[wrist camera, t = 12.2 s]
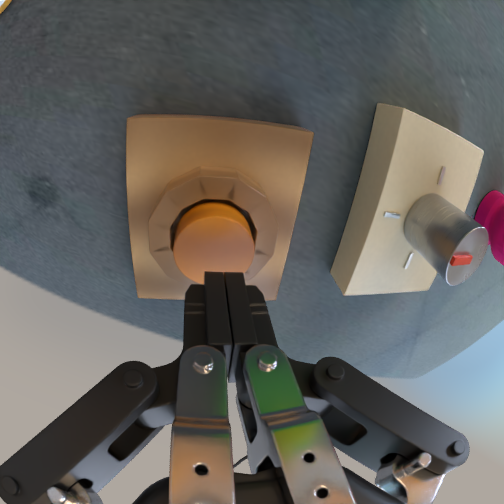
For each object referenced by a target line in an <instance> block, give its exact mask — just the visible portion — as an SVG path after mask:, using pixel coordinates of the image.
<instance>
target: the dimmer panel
mask: <svg viewBox="0 0 504 504" xmlns="http://www.w3.org/2000/svg"><path fill="white" fill-rule="evenodd" d="M483 154H484V151H483V150H482V149H480V148H479V147H477V146H475V145H474V144H472V143H471V142H469V141H467V140H466V139H464V138H462V137H460V136H459V135H457V134H455V133H453V132H452V131H450V130H448V129H446V128H444V127H442V126H440V125H438V124H437V123H435V122H433V121H431V120H429V119H426V118H424V117H422V116H420V115H418V114H416V113H414V112H411V111H409V110H407V109H405V108H401V107H396V106H392V105H387V104H382V103H377V107H376V112H375V117H374V121H373V126H372V130H371V135H370V139H369V143H368V148H367V152H366V156H365V160H364V164H363V167H362V171H361V175H360V179H359V182H358V186H357V189H356V193H355V196H354V200H353V203H352V207H351V210H350V213H349V217H348V220H347V223H346V226H345V229H344V233H343V236H342V239H341V242H340V245H339V248H338V251H337V254H336V257H335V260H334V262H333V265H332V268H331V271H330V273H331V275H332V277H333V278H334V280H335V282H336V283H337V285H338V287H339V288H340V290H341V292H342V294H343V295H344V296H349V295H369V294H386V293H400V292H414V291H426V290H428V289H429V287H430V286H431V284H432V282H433V280H434V278H435V276H436V274H437V273H438V272H437V271H436V270H435V269H434V268H433V267H432V266H431V265H430V264H429V263H428V262H427V261H426V260H425V259H424V258H423V257H422V256H421V255H420V254H419V253H418V252H417V251H416V250H415V249H414V248H413V247H412V246H411V245H410V244H409V243H408V242H407V240H406V238H405V234H404V225H405V220H406V217H407V215H408V213H409V211H410V209H411V207H412V206H413V205H414V203H415V202H416V201H417V200H418V199H420V198H421V197H422V196H424V195H426V194H430V193H435V194H438V195H440V196H441V197H443V198H444V199H446V200H447V201H449V202H450V203H452V204H453V205H454V206H456V207H457V208H459V209H460V210H462V211H463V212H464V213H465V210H466V207H467V205H468V202H469V199H470V196H471V194H472V191H473V188H474V185H475V181H476V178H477V175H478V172H479V168H480V165H481V161H482V157H483Z"/></svg>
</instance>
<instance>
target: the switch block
mask: <svg viewBox="0 0 504 504" xmlns="http://www.w3.org/2000/svg"><path fill="white" fill-rule="evenodd" d="M313 136H314V133H313V132H311V131H309V130H307V129H304V128H302V127H298V126H292V125H286V124H279V123H273V122H266V121H258V120H250V119H241V118H231V117H219V116H204V115H181V114H138V115H135V116H132V117H129V118H127V131H126V182H127V205H128V220H129V232H130V242H131V252H132V260H133V268H134V276H135V283H136V289H137V295H138V298H151V299H176V300H185V292H186V291H187V289H188V288H189V286H190V285H191V284H200V283H197V282H194V281H192V280H190V279H189V278H187V277H186V276H185V275H184V274H183V273H182V272H181V271H180V270H179V269H178V267H177V265H176V263H175V261H174V257H173V246H174V240H175V234H176V229H177V225H178V223H179V221H180V219H181V218H182V217H183V215H184V214H185V213H186V212H187V211H189V210H190V209H191V208H193V207H195V206H197V205H200V204H203V203H208V202H219V203H224V204H228V205H230V206H232V207H234V208H236V209H237V210H238V211H240V212H241V213H242V214H243V216H244V217H245V218H246V220H247V222H248V225H249V228H250V231H251V234H252V237H253V240H254V245H255V255H254V259H253V261H252V264H251V265H250V267H249V268H248V270H247V271H246V272H245V273H244V274H243V275H244V279H245V284H246V285H256V286H257V287H258V289H259V290H260V291H261V292H262V293H263V295H264V298H265V301H266V300H276V297H277V293H278V289H279V286H280V282H281V278H282V274H283V270H284V266H285V262H286V258H287V254H288V249H289V245H290V241H291V237H292V233H293V228H294V224H295V220H296V216H297V211H298V207H299V202H300V198H301V193H302V189H303V184H304V180H305V175H306V170H307V166H308V161H309V156H310V151H311V146H312V141H313Z"/></svg>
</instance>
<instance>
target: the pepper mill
mask: <svg viewBox="0 0 504 504" xmlns="http://www.w3.org/2000/svg"><path fill="white" fill-rule="evenodd" d="M474 220H475V221H476V222H478V223H479V224H480V225H482V226H483V227H484V228H485V229H486V230H487V232H488V237H489V240H488V245H489V244H490V245H491V251H492V254H493V256H494V258H495V259H496V260H497V261H498V262H500V263H501V264H502V265H504V195H503V194H502V193H500V192H498V191H496V190H494V191H491V192H489V193H488V194H487V195H486V196H485V197H484V198H483V200H482V201H481V203H480V205H479V207H478V210H477V212H476V215H475V219H474Z"/></svg>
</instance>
